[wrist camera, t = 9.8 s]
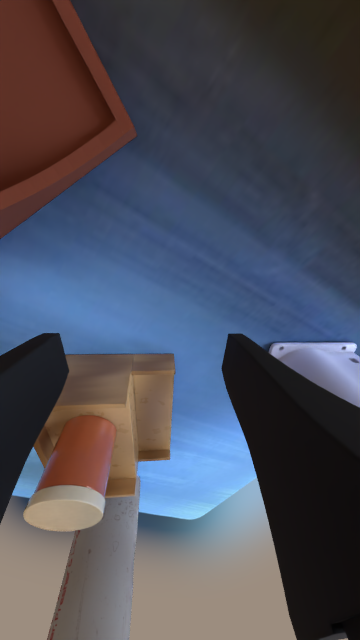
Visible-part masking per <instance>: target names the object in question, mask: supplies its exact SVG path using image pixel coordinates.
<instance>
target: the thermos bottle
mask: <svg viewBox="0 0 360 640" xmlns="http://www.w3.org/2000/svg"><path fill="white" fill-rule="evenodd" d="M140 482H141V481H140V478H139V476H138V475H137V480H136V491H135V496H127V497H114V498H105V508H104V513H103V517H102V519H101V520H100V522H98V523H97V524H95V525H93V526H91V527H88V528H85V529H81V530H76V531H75V535H74V539H73V543H72V547H71V550H70V554H69V558H68V562H67V566H66V570H65V574H64V578H63V581H62V585H61V590H60V593H59V597H58V601H57V605H56V609H55V612H54V616H53V620H52V623H51V627H50V631H49V634H48V638H47V640H129V634H130V620H131V606H132V592H133V570H134V569H133V568H134V554H135V546H136V535H137V524H138V510H139V497H140Z"/></svg>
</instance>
